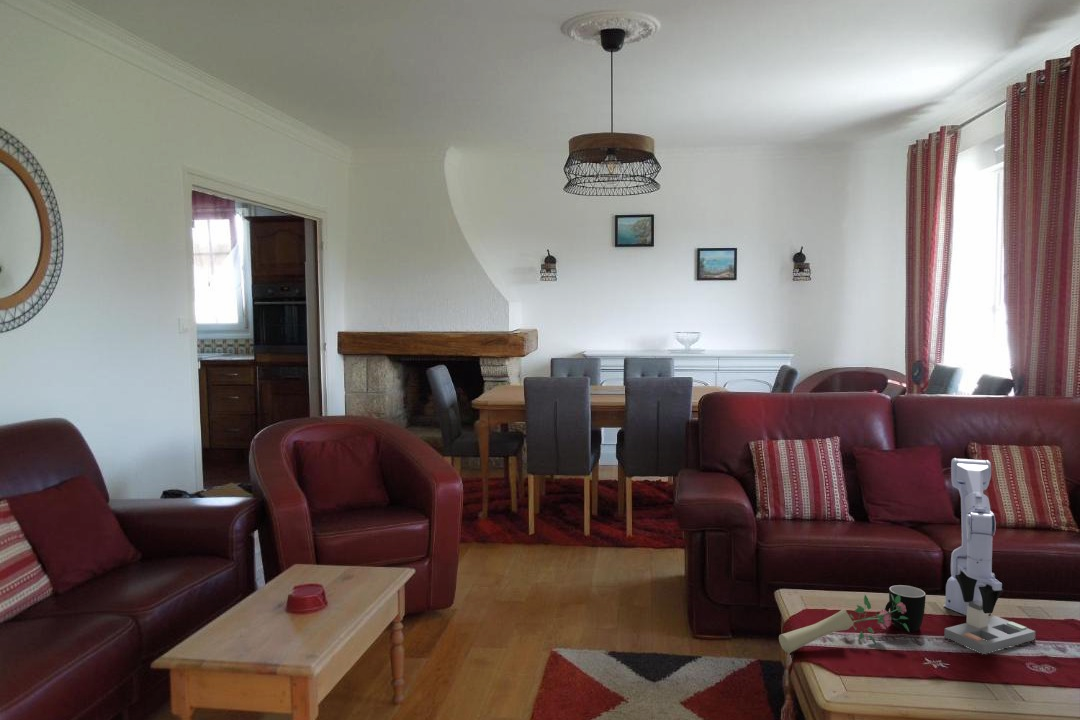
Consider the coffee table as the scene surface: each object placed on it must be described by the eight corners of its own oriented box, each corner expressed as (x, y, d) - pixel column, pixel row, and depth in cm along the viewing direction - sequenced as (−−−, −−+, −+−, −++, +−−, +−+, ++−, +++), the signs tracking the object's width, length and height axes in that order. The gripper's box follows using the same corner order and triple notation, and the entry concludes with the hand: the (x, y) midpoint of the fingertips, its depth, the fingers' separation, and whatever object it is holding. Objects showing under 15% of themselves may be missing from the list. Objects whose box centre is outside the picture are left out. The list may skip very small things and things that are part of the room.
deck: (944, 637, 196) (944, 626, 196) (994, 624, 204) (995, 614, 204) (983, 654, 186) (983, 643, 186) (1035, 640, 194) (1035, 629, 194)
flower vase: (784, 674, 192) (892, 628, 201) (810, 682, 180) (923, 633, 190) (768, 628, 194) (875, 585, 203) (793, 634, 182) (905, 587, 192)
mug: (905, 618, 209) (906, 583, 208) (932, 630, 200) (933, 594, 200) (872, 624, 204) (873, 589, 204) (898, 637, 196) (899, 600, 195)
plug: (966, 623, 199) (967, 601, 198) (975, 621, 200) (976, 599, 200) (979, 628, 196) (979, 606, 195) (988, 626, 197) (988, 604, 197)
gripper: (1013, 565, 190) (1011, 617, 191) (974, 548, 204) (973, 596, 205) (987, 566, 189) (986, 618, 190) (950, 549, 204) (949, 597, 204)
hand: (977, 607), depth 198 cm, fingers open, 7 cm apart
